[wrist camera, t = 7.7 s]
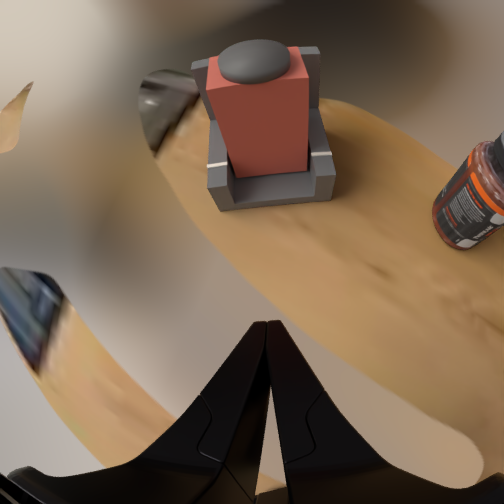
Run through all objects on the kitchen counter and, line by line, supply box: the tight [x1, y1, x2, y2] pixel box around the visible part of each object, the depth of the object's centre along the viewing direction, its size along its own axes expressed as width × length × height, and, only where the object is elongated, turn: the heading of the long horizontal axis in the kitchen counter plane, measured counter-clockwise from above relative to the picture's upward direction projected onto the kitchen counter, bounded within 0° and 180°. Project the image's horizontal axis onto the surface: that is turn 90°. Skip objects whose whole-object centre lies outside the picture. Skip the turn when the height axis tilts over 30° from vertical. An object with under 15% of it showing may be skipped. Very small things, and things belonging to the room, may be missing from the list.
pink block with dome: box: [206, 40, 309, 178], centre depth 19 cm, size 4×6×11 cm
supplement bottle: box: [432, 131, 504, 250], centre depth 16 cm, size 6×6×11 cm
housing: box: [191, 47, 336, 211], centre depth 20 cm, size 8×10×10 cm
